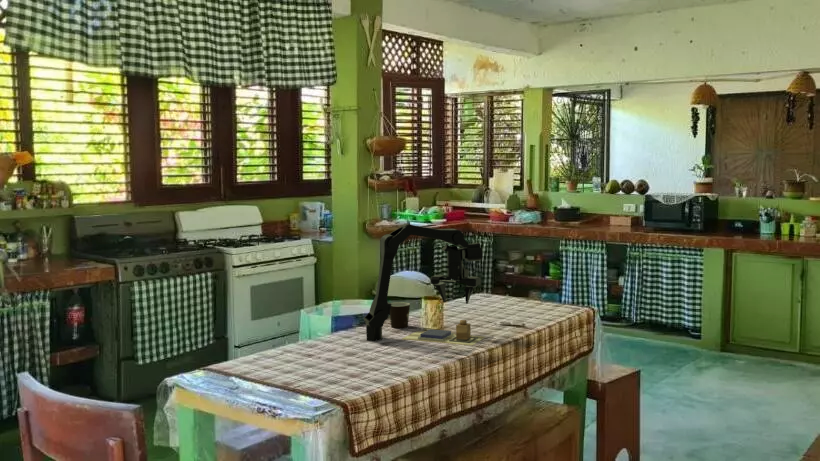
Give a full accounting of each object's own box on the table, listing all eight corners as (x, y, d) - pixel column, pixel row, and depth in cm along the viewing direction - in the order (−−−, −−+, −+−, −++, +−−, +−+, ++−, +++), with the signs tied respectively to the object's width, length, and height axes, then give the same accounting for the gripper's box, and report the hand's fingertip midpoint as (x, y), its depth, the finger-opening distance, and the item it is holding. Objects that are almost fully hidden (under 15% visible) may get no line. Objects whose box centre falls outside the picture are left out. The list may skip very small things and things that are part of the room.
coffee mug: (401, 332, 295) (400, 307, 294) (384, 330, 300) (383, 305, 299) (419, 326, 304) (418, 302, 303) (402, 324, 309) (401, 300, 308)
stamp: (466, 341, 274) (466, 322, 274) (456, 340, 276) (456, 321, 275) (470, 338, 278) (470, 319, 277) (460, 337, 280) (460, 319, 279)
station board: (472, 348, 268) (472, 344, 268) (401, 341, 280) (400, 338, 280) (485, 339, 281) (485, 335, 280) (417, 333, 293) (417, 330, 293)
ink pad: (443, 341, 275) (442, 336, 275) (418, 339, 279) (417, 334, 279) (453, 335, 284) (453, 330, 284) (429, 333, 288) (429, 328, 288)
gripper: (485, 260, 291) (486, 300, 292) (441, 258, 299) (442, 297, 301) (474, 264, 281) (475, 305, 282) (429, 262, 289) (430, 302, 291)
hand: (455, 302), depth 289 cm, fingers open, 9 cm apart
